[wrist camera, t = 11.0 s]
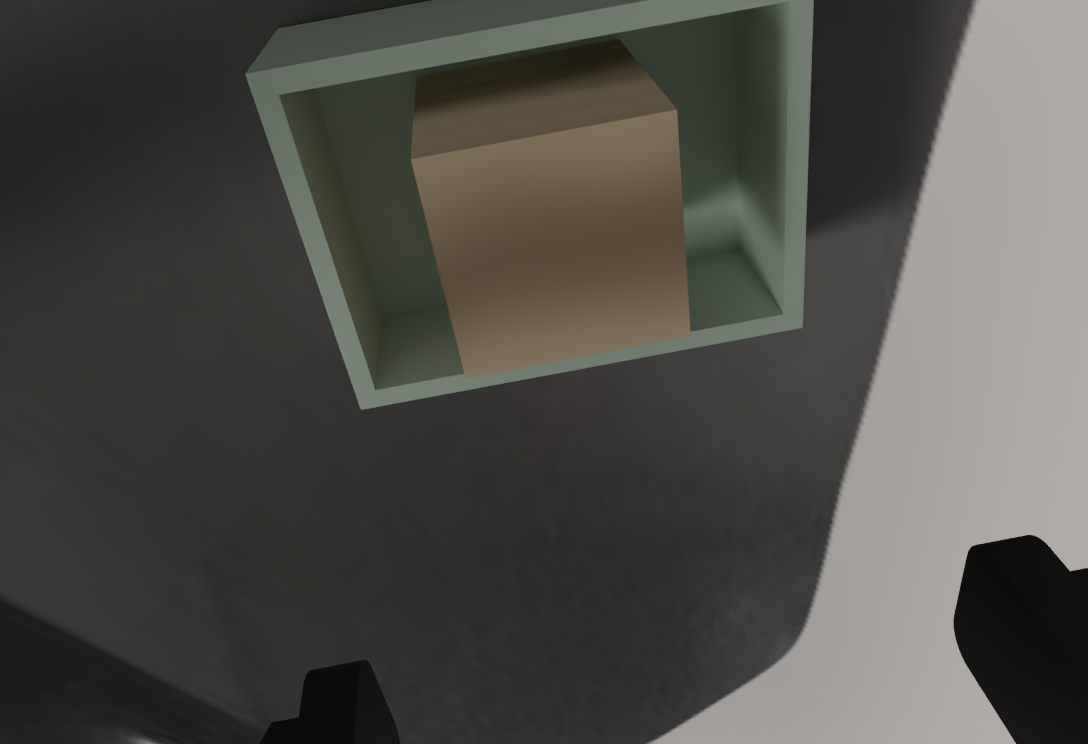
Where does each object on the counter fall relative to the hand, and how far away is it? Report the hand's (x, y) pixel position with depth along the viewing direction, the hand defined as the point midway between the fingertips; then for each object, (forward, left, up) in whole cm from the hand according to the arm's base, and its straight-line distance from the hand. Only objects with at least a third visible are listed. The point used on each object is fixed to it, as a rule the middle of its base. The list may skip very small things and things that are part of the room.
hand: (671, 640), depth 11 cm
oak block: (0, 0, -18) cm, 18 cm away
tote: (0, 0, -19) cm, 19 cm away
